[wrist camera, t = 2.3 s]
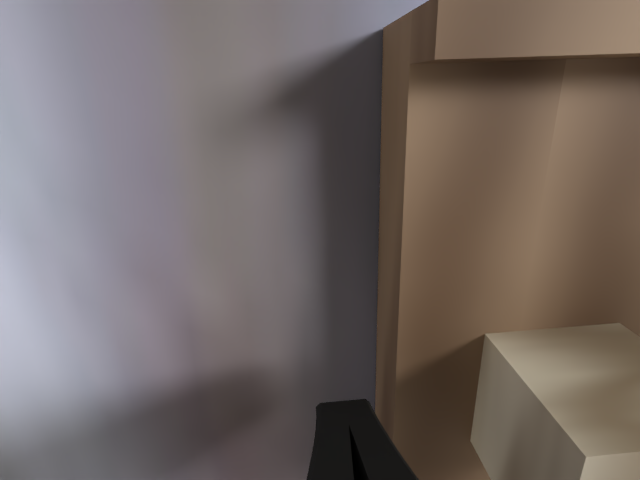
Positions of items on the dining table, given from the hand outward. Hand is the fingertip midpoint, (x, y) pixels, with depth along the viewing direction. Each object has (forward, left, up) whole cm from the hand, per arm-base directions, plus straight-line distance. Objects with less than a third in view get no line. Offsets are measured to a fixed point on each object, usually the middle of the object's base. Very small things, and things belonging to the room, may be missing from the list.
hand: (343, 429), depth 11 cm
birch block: (-6, 0, -1) cm, 6 cm away
